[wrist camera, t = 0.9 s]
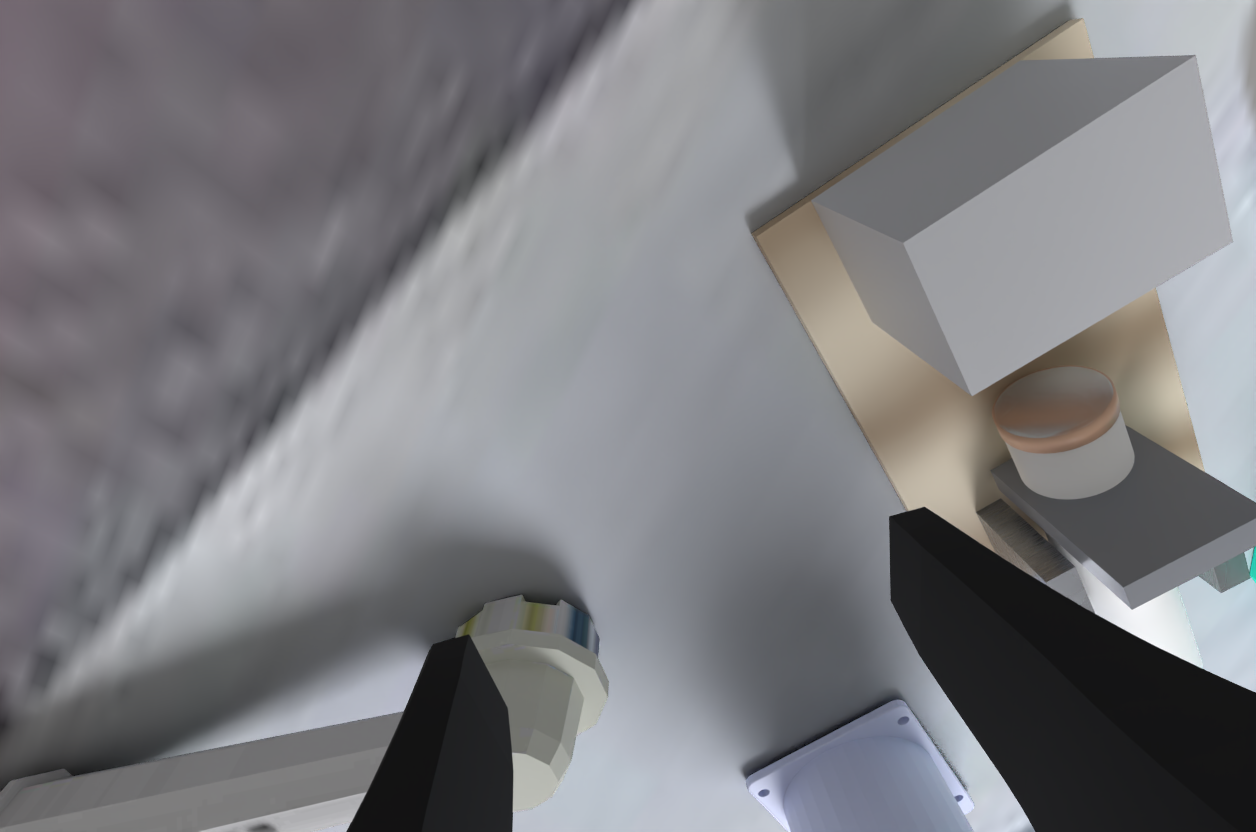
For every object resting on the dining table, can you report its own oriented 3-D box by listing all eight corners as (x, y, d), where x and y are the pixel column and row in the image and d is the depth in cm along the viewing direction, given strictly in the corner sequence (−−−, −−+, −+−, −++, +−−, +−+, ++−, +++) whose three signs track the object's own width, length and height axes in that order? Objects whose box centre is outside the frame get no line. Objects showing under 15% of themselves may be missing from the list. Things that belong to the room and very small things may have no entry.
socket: (1065, 201, 20) (1233, 241, 15) (872, 322, 21) (971, 396, 16) (1020, 60, 18) (1196, 55, 13) (811, 200, 19) (902, 242, 14)
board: (1196, 476, 26) (1207, 483, 26) (959, 604, 28) (965, 613, 27) (1070, 19, 18) (1083, 18, 18) (751, 233, 20) (755, 237, 20)
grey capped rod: (-159, 879, 22) (563, 742, 18) (7, 704, 28) (581, 572, 24) (-40, 956, 25) (621, 849, 21) (90, 781, 31) (625, 671, 27)
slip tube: (1164, 606, 28) (1318, 737, 23) (1073, 653, 29) (1201, 792, 23) (1074, 346, 22) (1254, 437, 17) (962, 412, 23) (1097, 521, 17)
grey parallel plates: (1155, 510, 26) (1250, 578, 23) (1013, 587, 27) (1082, 663, 24) (1128, 426, 24) (1227, 485, 21) (975, 512, 25) (1045, 582, 22)
